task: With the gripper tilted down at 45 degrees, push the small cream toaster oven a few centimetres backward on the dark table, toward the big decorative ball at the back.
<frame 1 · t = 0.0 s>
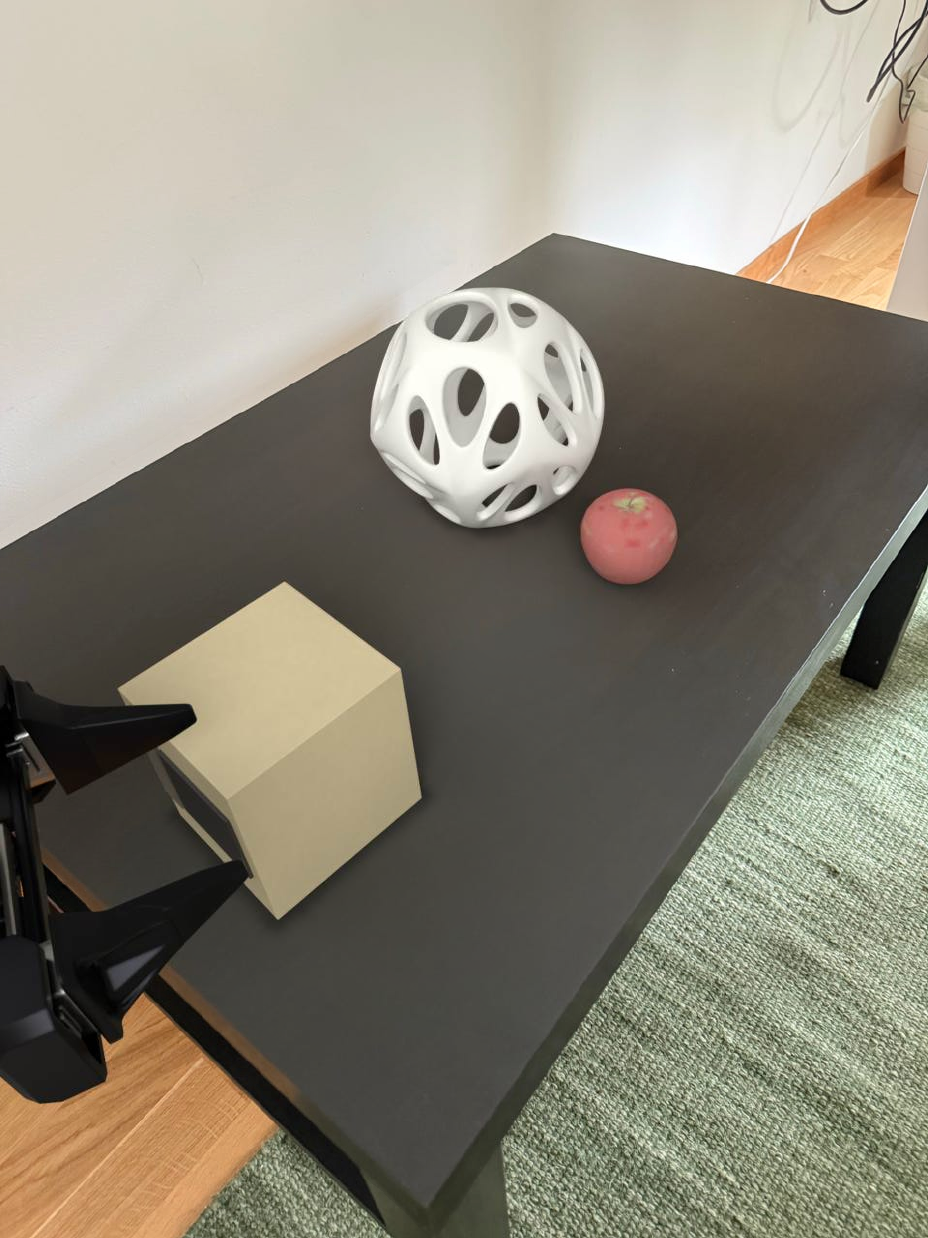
hand: (218, 784, 41), 18 cm above the table, tool horizontal, fingers open, 9 cm apart
apple: (623, 573, 76), on the table
decorative ball: (489, 494, 85), on the table
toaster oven: (300, 806, 62), on the table
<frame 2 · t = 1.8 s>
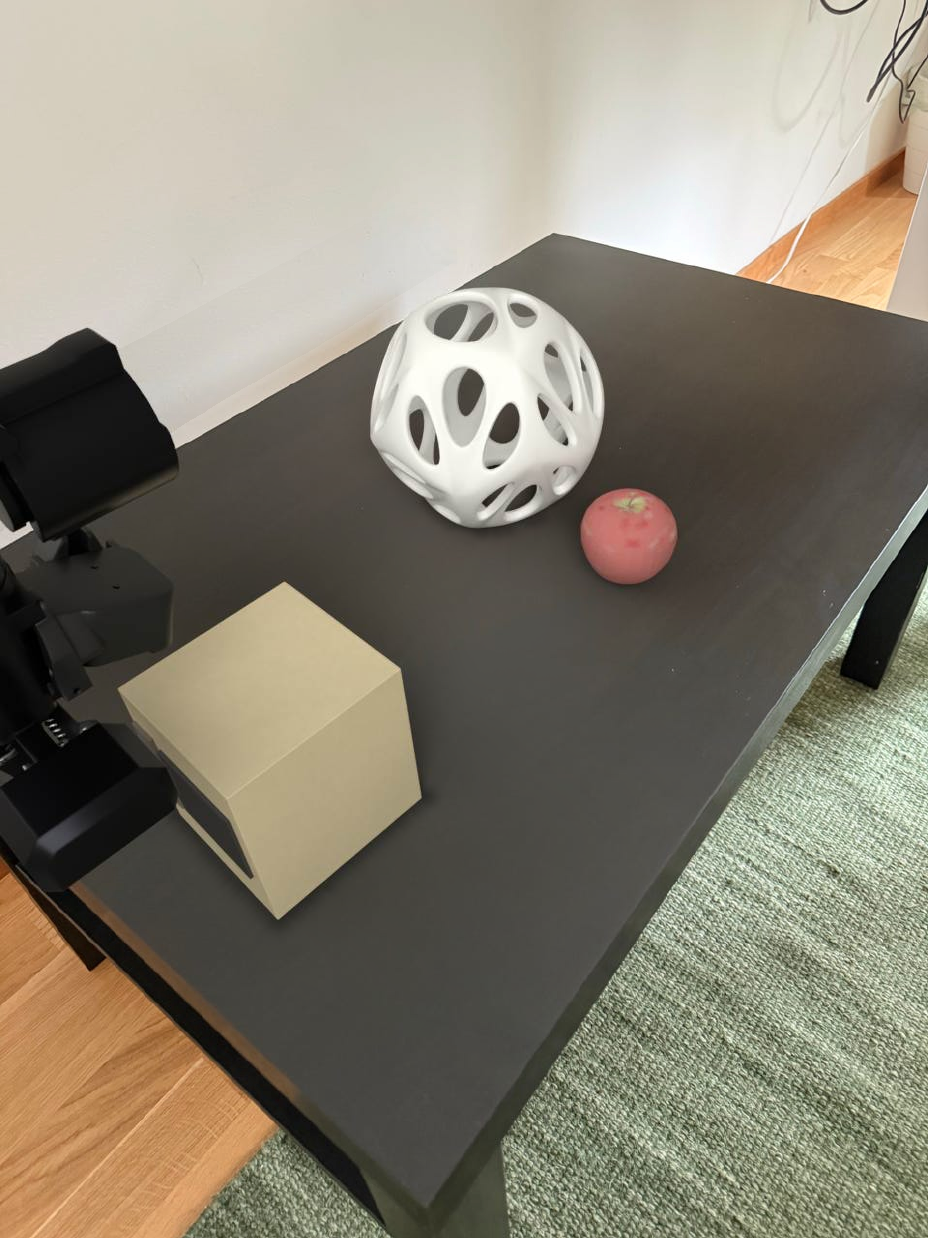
hand: (74, 814, 47), 13 cm above the table, tool pointing down, fingers open, 5 cm apart
nothing on the table moved.
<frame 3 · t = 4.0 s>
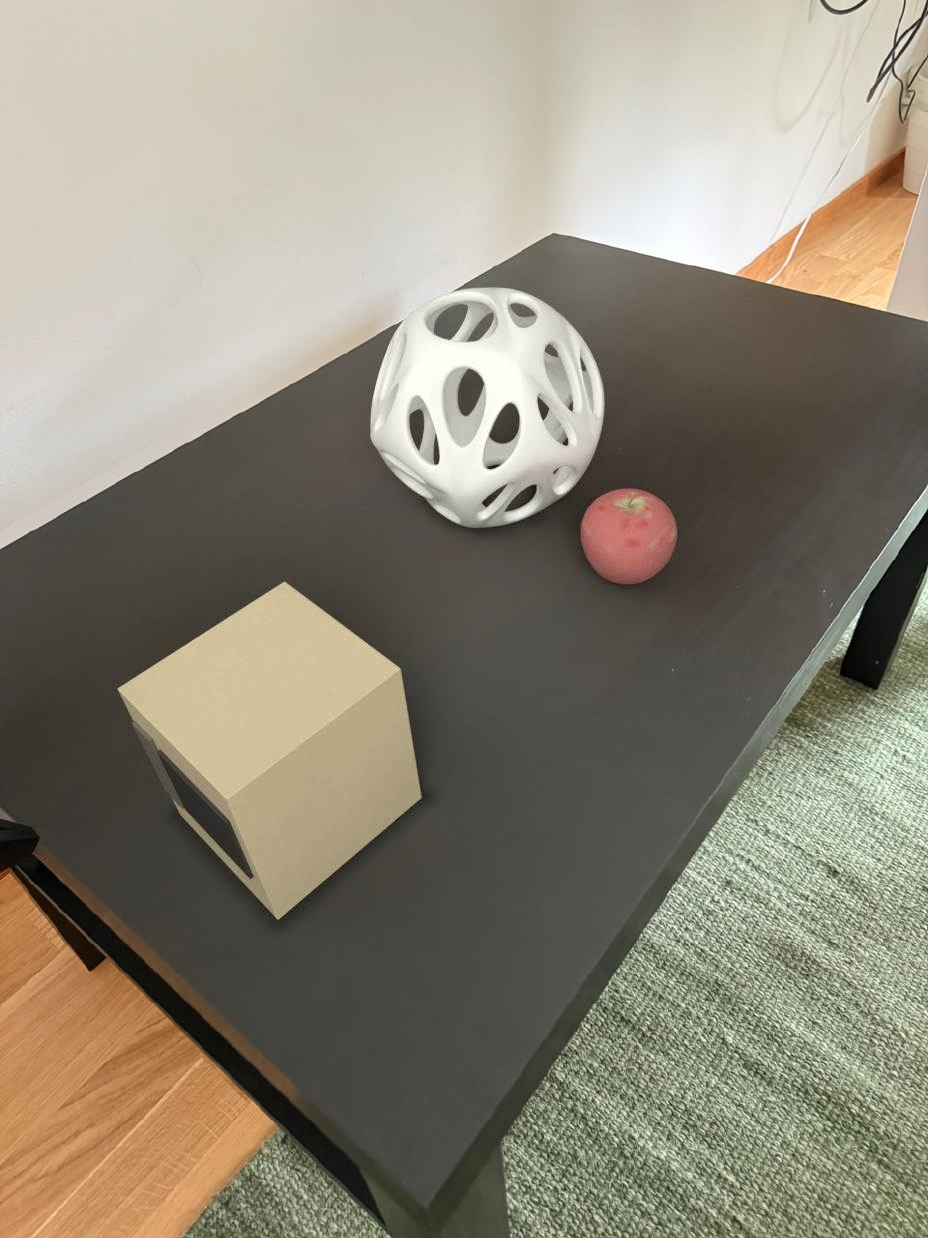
hand: (33, 840, 47), 13 cm above the table, tool tilted 45°, fingers closed
nothing on the table moved.
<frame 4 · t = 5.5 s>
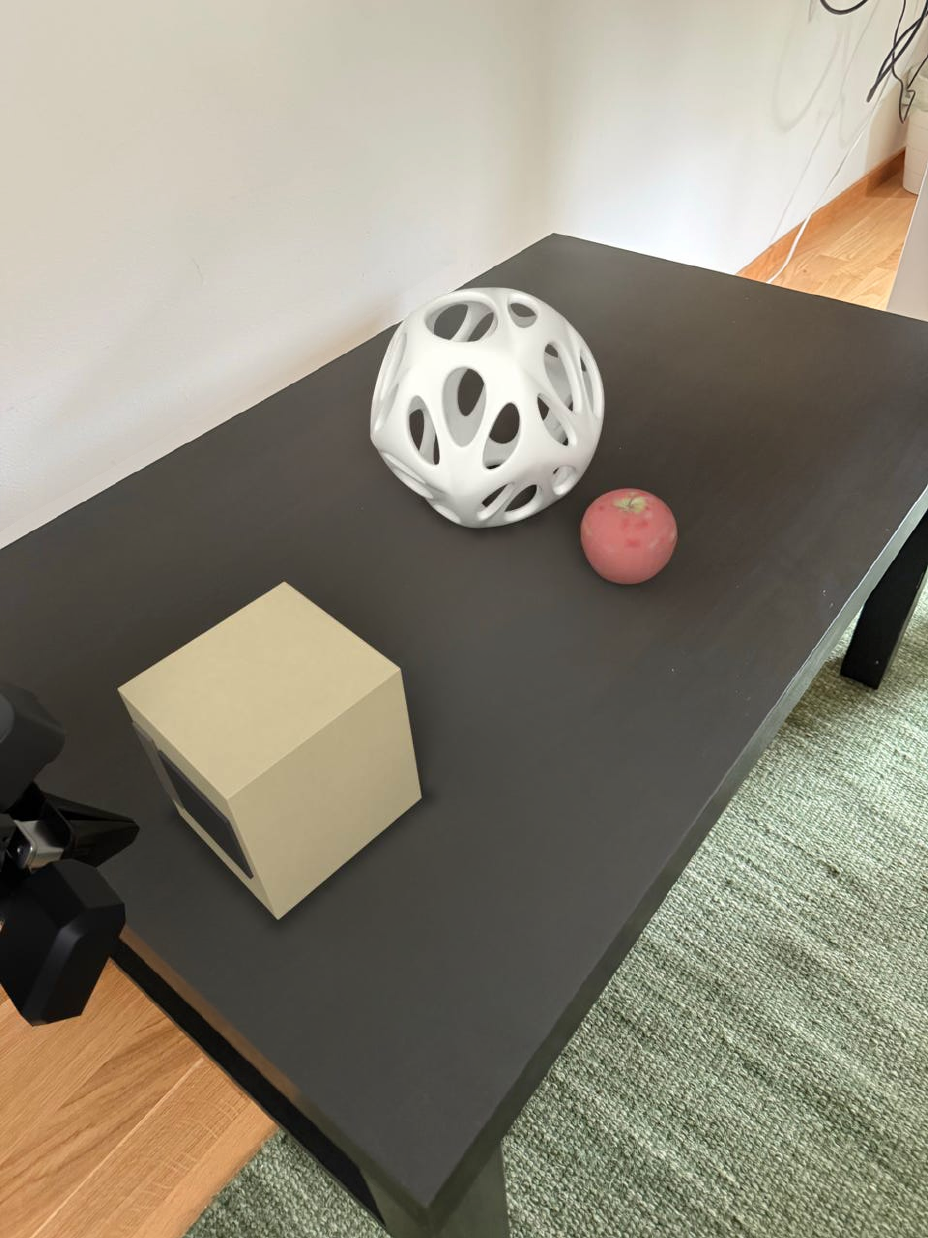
hand: (134, 830, 52), 8 cm above the table, tool tilted 45°, fingers closed
nothing on the table moved.
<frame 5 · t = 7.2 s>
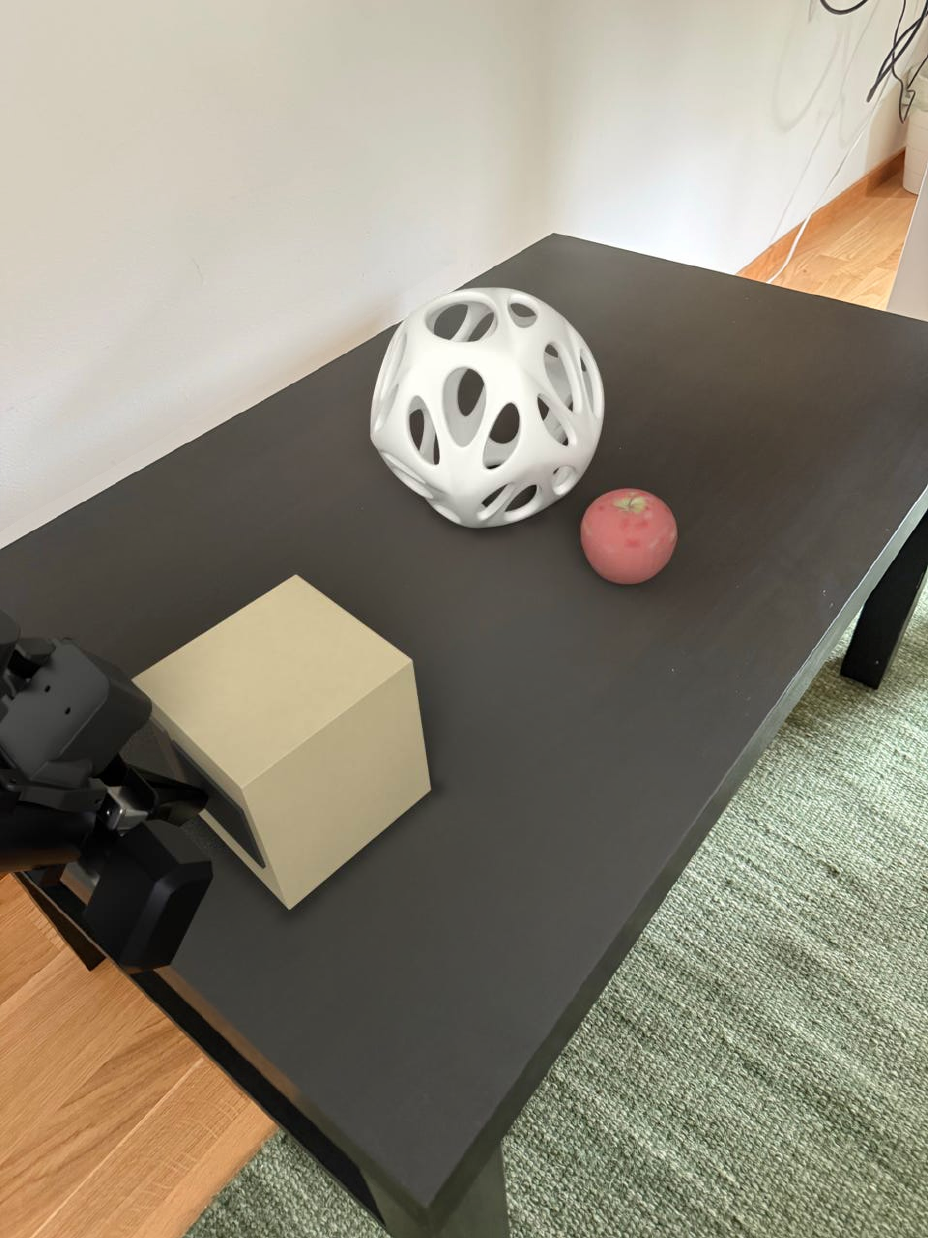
hand: (203, 800, 55), 7 cm above the table, tool tilted 45°, fingers closed, pressing on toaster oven
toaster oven: (311, 798, 62), on the table, touching gripper
everything else where it was.
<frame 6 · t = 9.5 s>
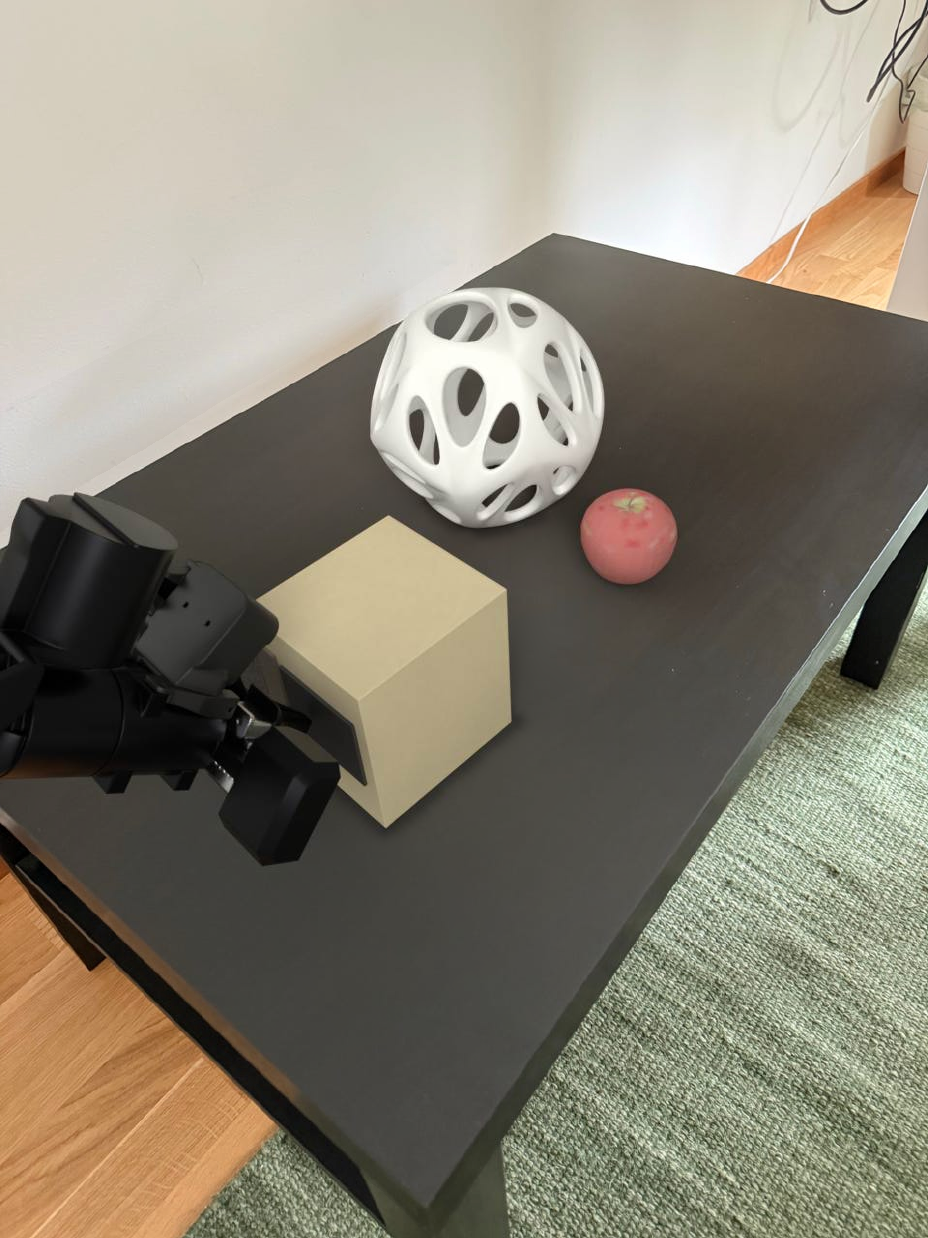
hand: (306, 724, 58), 7 cm above the table, tool tilted 45°, fingers closed
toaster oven: (397, 729, 66), on the table
everything else where it was.
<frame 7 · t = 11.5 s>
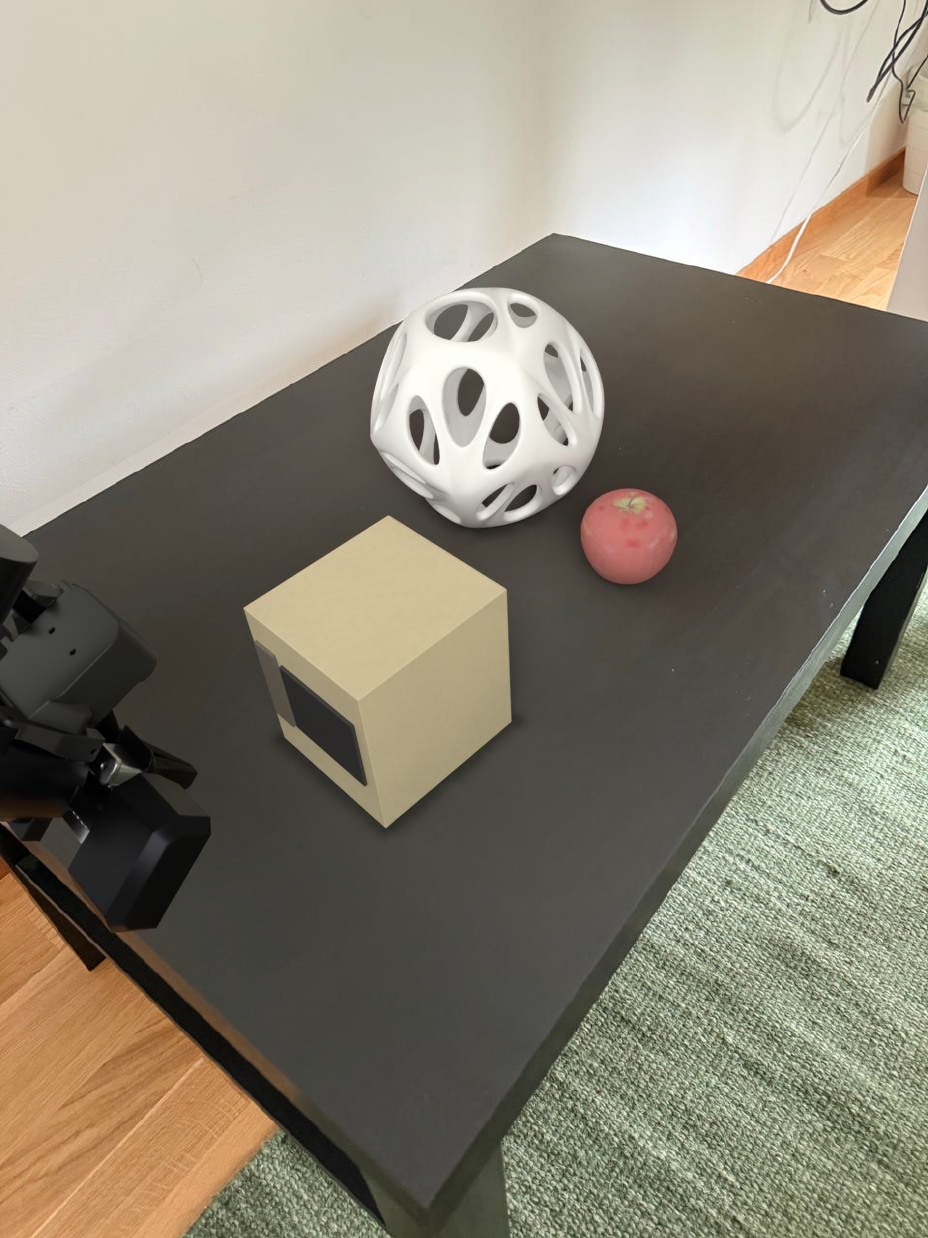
hand: (191, 775, 53), 9 cm above the table, tool tilted 40°, fingers closed
nothing on the table moved.
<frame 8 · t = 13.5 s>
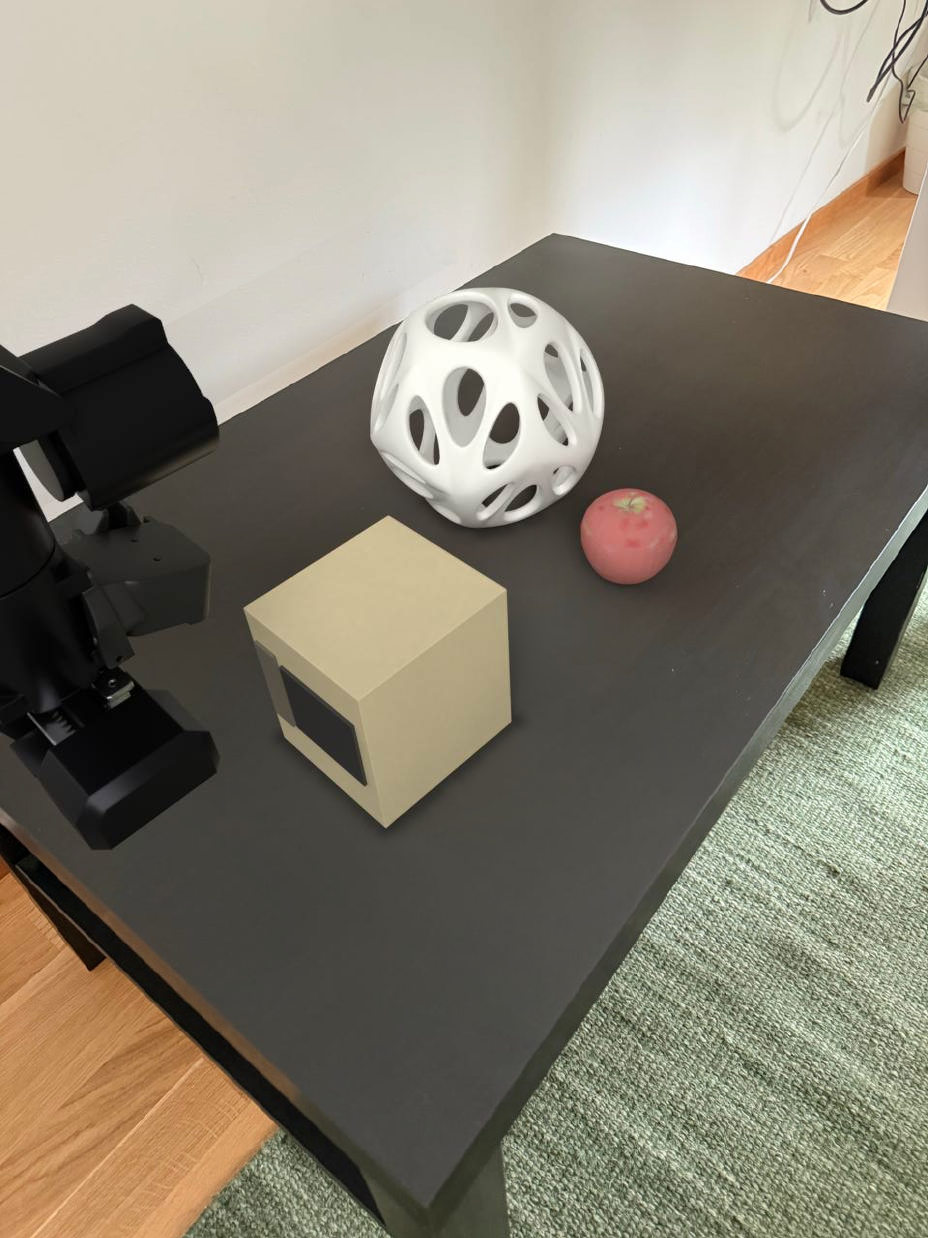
hand: (110, 784, 48), 13 cm above the table, tool pointing down, fingers closed
nothing on the table moved.
at the end: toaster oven moved 8.8 cm from its start; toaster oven 27.9 cm from the decorative ball (horizontally); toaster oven tilted 0° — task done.
